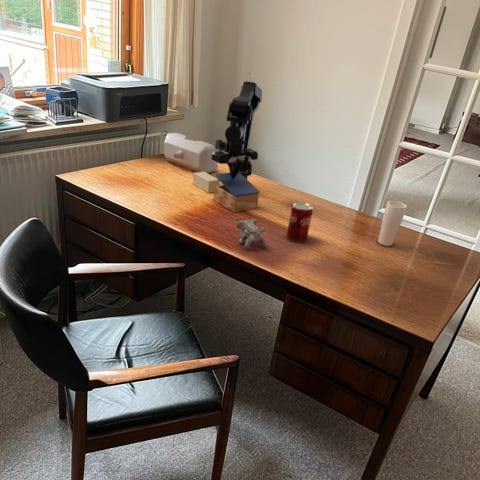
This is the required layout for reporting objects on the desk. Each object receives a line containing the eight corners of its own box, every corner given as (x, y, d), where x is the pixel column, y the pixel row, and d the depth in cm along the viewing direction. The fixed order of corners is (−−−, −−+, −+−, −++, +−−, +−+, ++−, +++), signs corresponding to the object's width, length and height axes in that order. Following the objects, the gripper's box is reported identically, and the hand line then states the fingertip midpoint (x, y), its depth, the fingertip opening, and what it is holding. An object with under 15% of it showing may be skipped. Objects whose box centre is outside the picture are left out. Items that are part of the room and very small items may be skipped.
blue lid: (214, 176, 185) (215, 174, 184) (237, 172, 192) (238, 171, 191) (235, 197, 179) (236, 195, 178) (258, 193, 185) (259, 191, 185)
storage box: (213, 200, 190) (214, 185, 187) (235, 196, 197) (237, 182, 194) (234, 212, 182) (236, 197, 179) (257, 207, 189) (259, 193, 185)
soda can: (308, 237, 170) (315, 205, 164) (304, 244, 165) (310, 211, 158) (289, 232, 172) (295, 200, 165) (284, 239, 166) (289, 206, 160)
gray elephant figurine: (251, 253, 154) (254, 231, 150) (224, 239, 160) (226, 218, 156) (268, 245, 161) (272, 224, 156) (242, 233, 167) (244, 212, 162)
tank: (155, 162, 222) (155, 134, 215) (179, 157, 233) (180, 130, 226) (195, 177, 210) (196, 148, 203) (218, 171, 221) (220, 144, 214)
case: (192, 184, 203) (193, 172, 200) (203, 182, 206) (204, 171, 204) (208, 192, 197) (209, 181, 194) (218, 191, 200) (219, 179, 197)
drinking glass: (384, 248, 170) (396, 208, 161) (371, 240, 175) (383, 201, 166) (398, 246, 173) (411, 207, 164) (385, 238, 177) (397, 199, 169)
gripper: (242, 129, 187) (238, 169, 196) (204, 132, 177) (201, 174, 185) (261, 137, 181) (255, 177, 189) (222, 140, 170) (218, 183, 179)
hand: (232, 178), depth 186 cm, fingers closed
